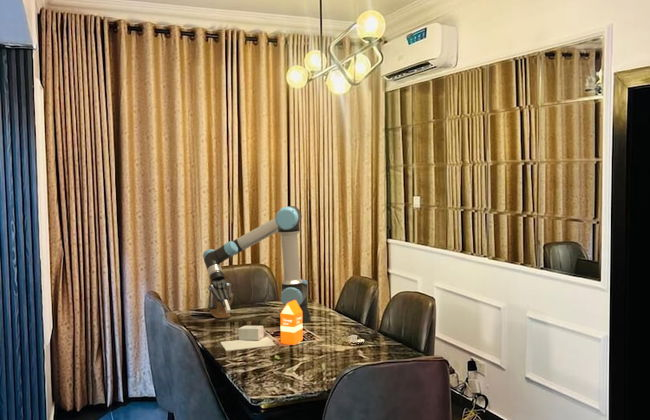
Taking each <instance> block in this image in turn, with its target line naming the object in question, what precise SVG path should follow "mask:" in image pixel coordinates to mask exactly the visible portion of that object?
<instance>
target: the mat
mask: <svg viewBox="0 0 650 420" xmlns="http://www.w3.org/2000/svg"><path fill="white" fill-rule="evenodd" d="M219 343H220V345H221V346H222V347H223V349H224V350H225V352H232V351H239V350H240V351H241V350H243V351H244V350H250V349H260V348H267V347H269V348H271V347H276V346H277V344H276V343H275V342H274V341H273V340H272V339H271V338H270V337H269V336H264V337H262V338H261V339H259V340H239V339H235V340H227V341H226V340H225V341H220V342H219Z"/></svg>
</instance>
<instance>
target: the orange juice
mask: <svg viewBox="0 0 650 420" xmlns="http://www.w3.org/2000/svg"><path fill="white" fill-rule="evenodd" d="M303 323H304V322H303ZM303 323H302V310H301V308H300V307H299V305H298V303H297V302H296V300H293V301H291V302H288V303H287V304H286V306H284V307H283V309H282V311H281V312H280V344H285V345H293V346H294V345H297V344H298V343H300V342H302V341H303V340H304V339H303V336H304V335H303V331H304V330H303Z"/></svg>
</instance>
